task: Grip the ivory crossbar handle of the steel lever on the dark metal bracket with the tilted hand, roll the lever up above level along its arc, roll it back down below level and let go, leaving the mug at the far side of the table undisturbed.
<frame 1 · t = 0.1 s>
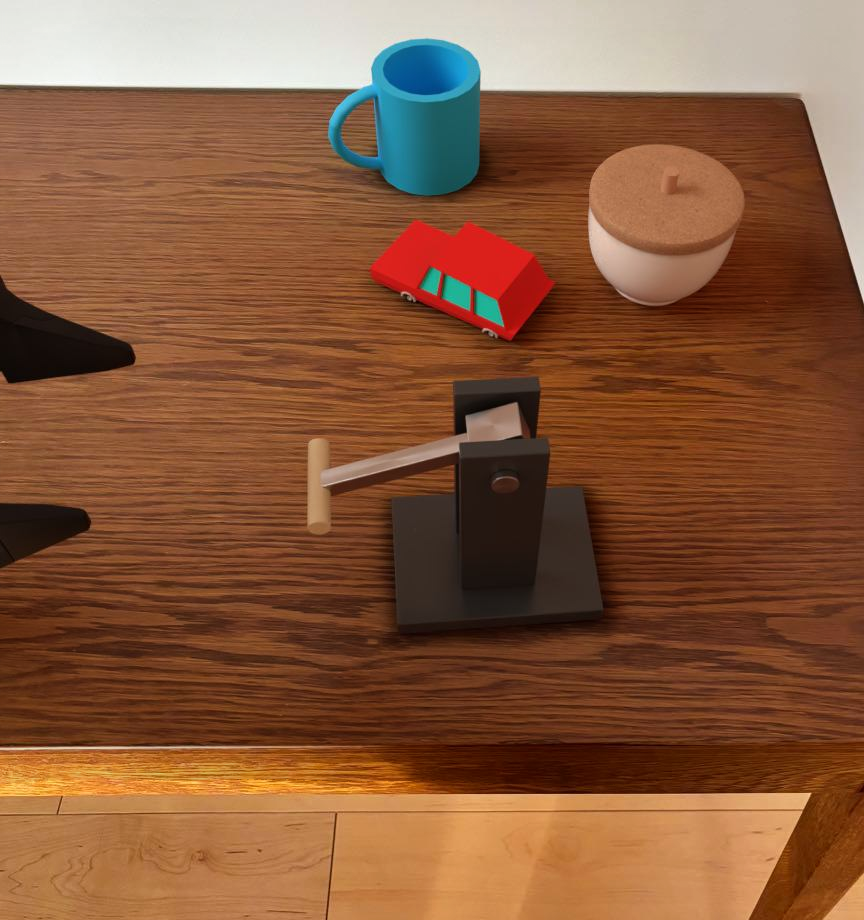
hand: (111, 432, 44), 17 cm above the table, tool horizontal, fingers open, 9 cm apart
lever: (415, 460, 53), point 11 cm above the table, hinge at -18.0°
trinket box: (649, 279, 76), on the table
bracket: (493, 562, 62), on the table
toy car: (463, 292, 75), on the table
mug: (406, 169, 82), on the table
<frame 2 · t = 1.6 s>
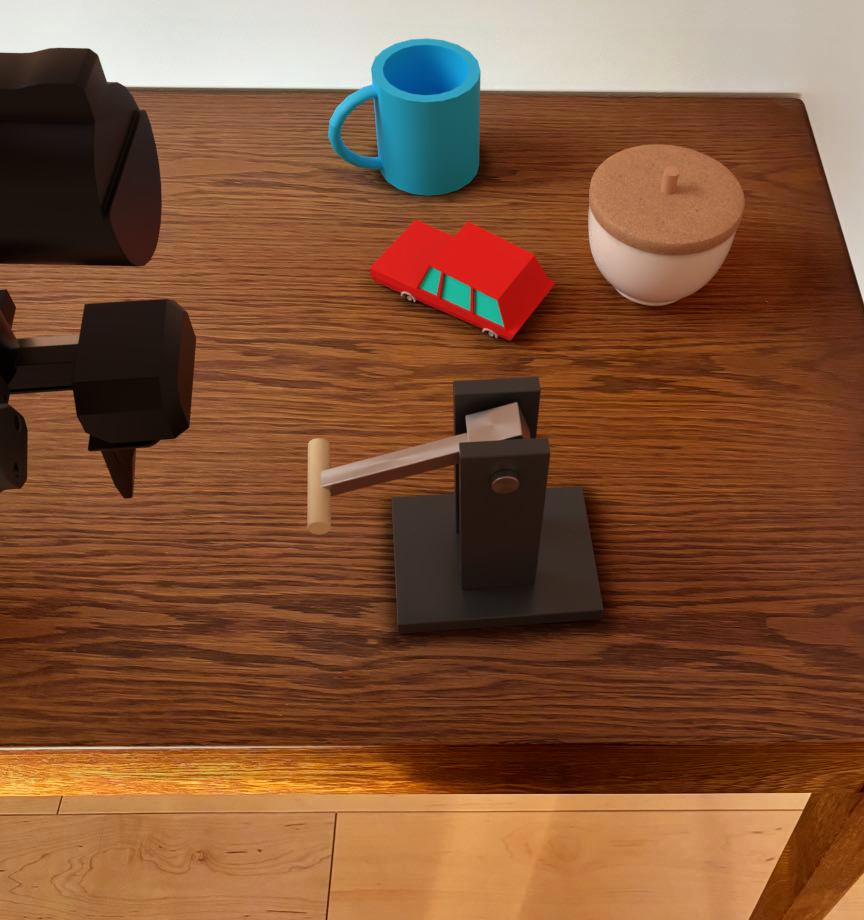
hand: (31, 498, 49), 12 cm above the table, tool pointing down, fingers open, 9 cm apart
nothing on the table moved.
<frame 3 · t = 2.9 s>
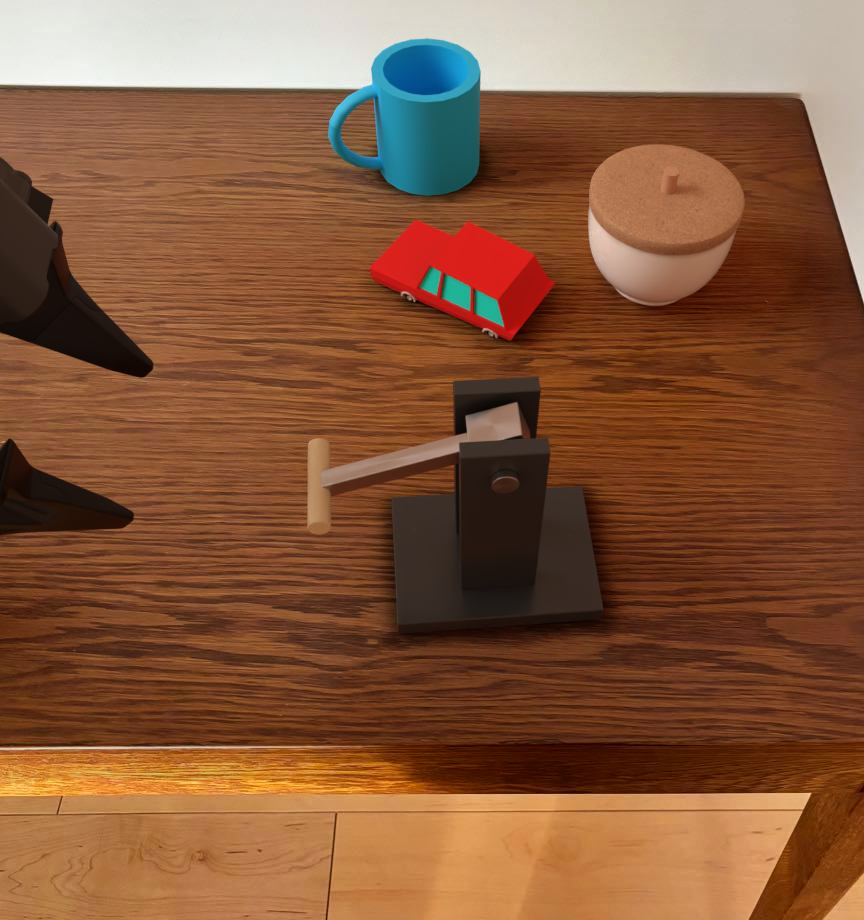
hand: (139, 442, 49), 13 cm above the table, tool tilted 45°, fingers open, 9 cm apart
nothing on the table moved.
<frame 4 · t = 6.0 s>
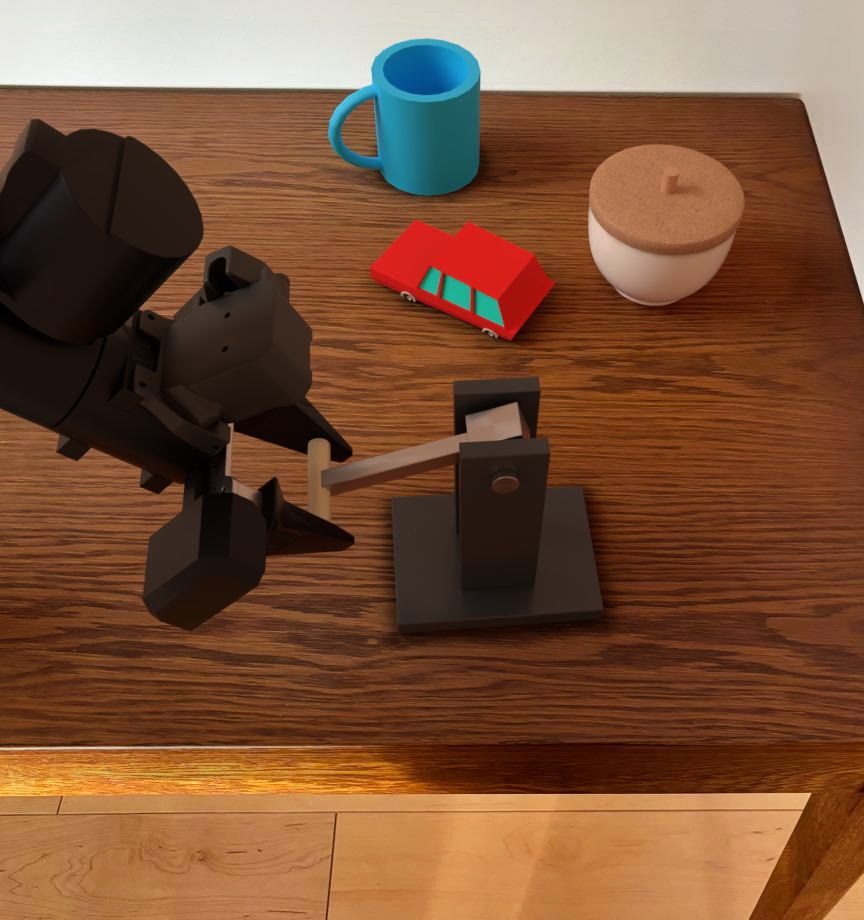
hand: (348, 499, 55), 7 cm above the table, tool tilted 45°, fingers closed on lever, 5 cm apart
lever: (415, 460, 53), point 11 cm above the table, hinge at -18.0°, touching gripper
everything else where it was.
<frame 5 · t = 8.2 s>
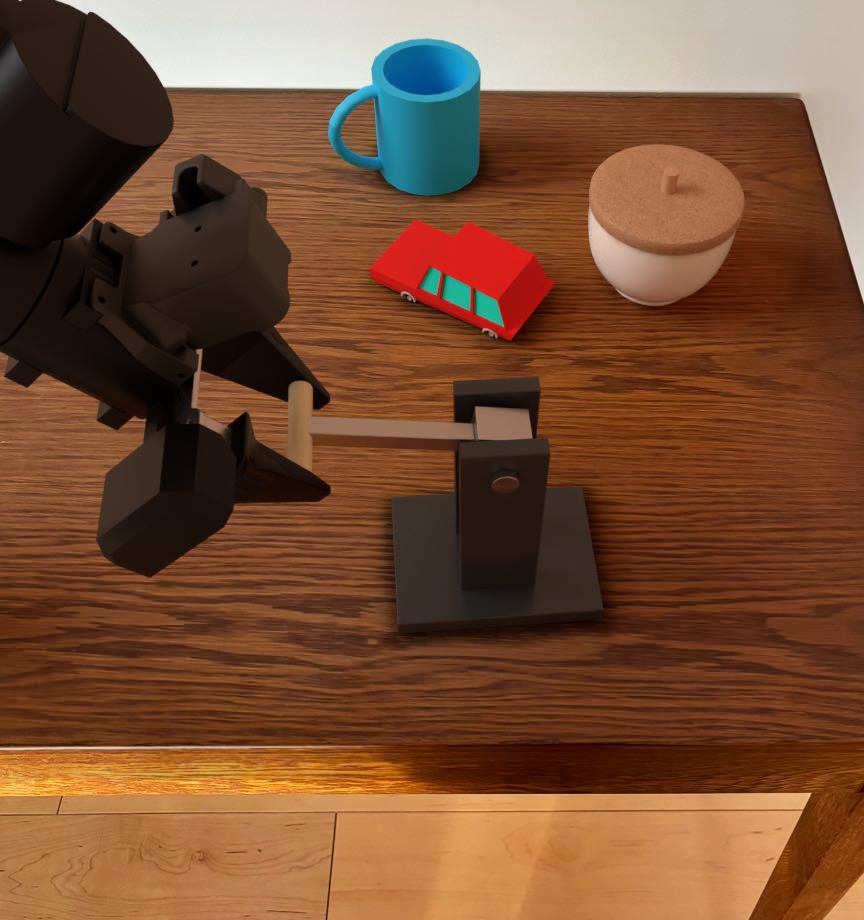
hand: (325, 448, 51), 12 cm above the table, tool tilted 45°, fingers closed on lever, 5 cm apart
lever: (409, 434, 51), point 13 cm above the table, hinge at 8.7°, touching gripper
everything else where it was.
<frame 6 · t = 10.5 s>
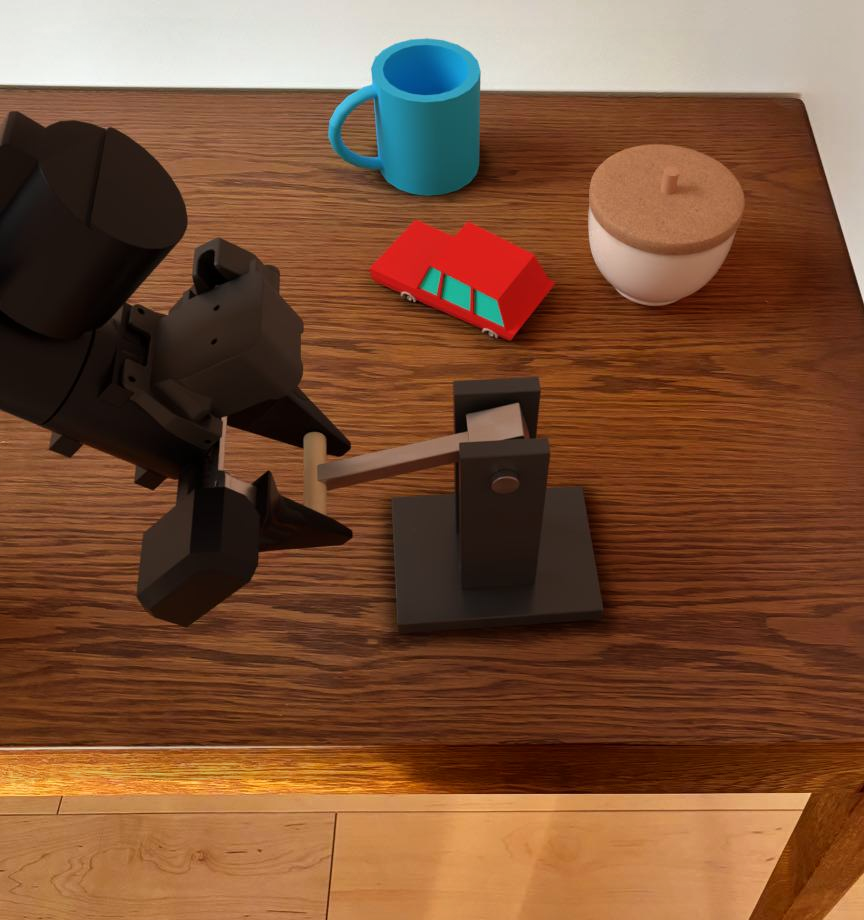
hand: (347, 493, 54), 8 cm above the table, tool tilted 45°, fingers closed on lever, 5 cm apart
lever: (413, 457, 52), point 11 cm above the table, hinge at -14.8°, touching gripper
everything else where it was.
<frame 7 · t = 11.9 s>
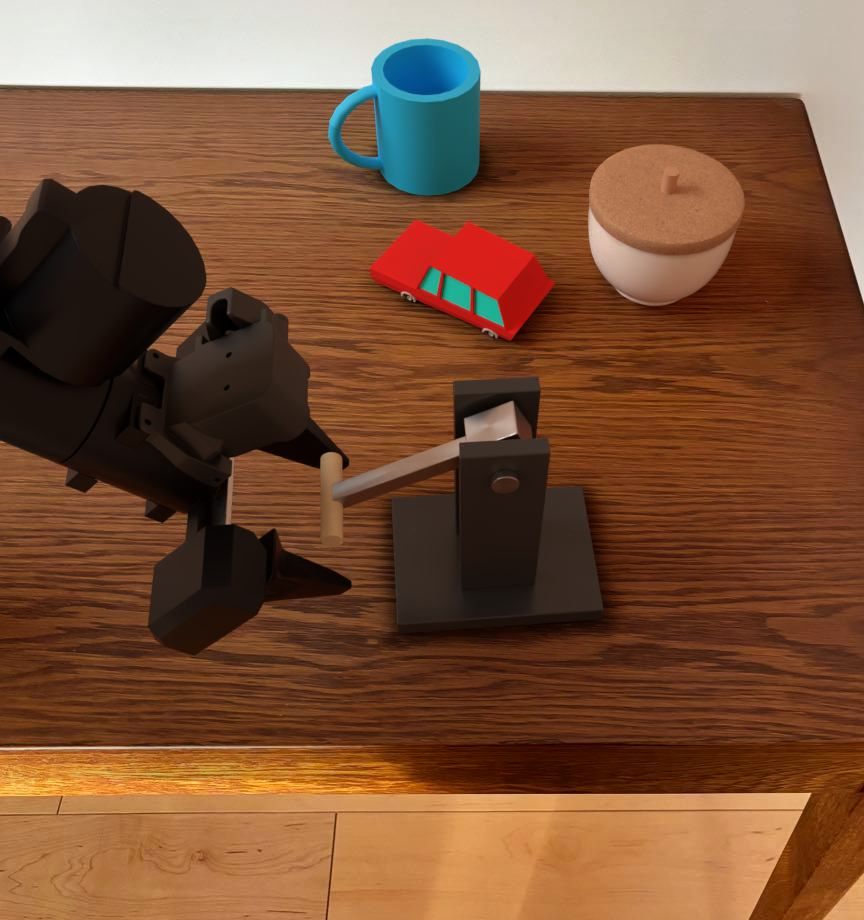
hand: (345, 525, 57), 5 cm above the table, tool tilted 45°, fingers open, 8 cm apart
lever: (420, 467, 53), point 10 cm above the table, hinge at -25.9°
everything else where it was.
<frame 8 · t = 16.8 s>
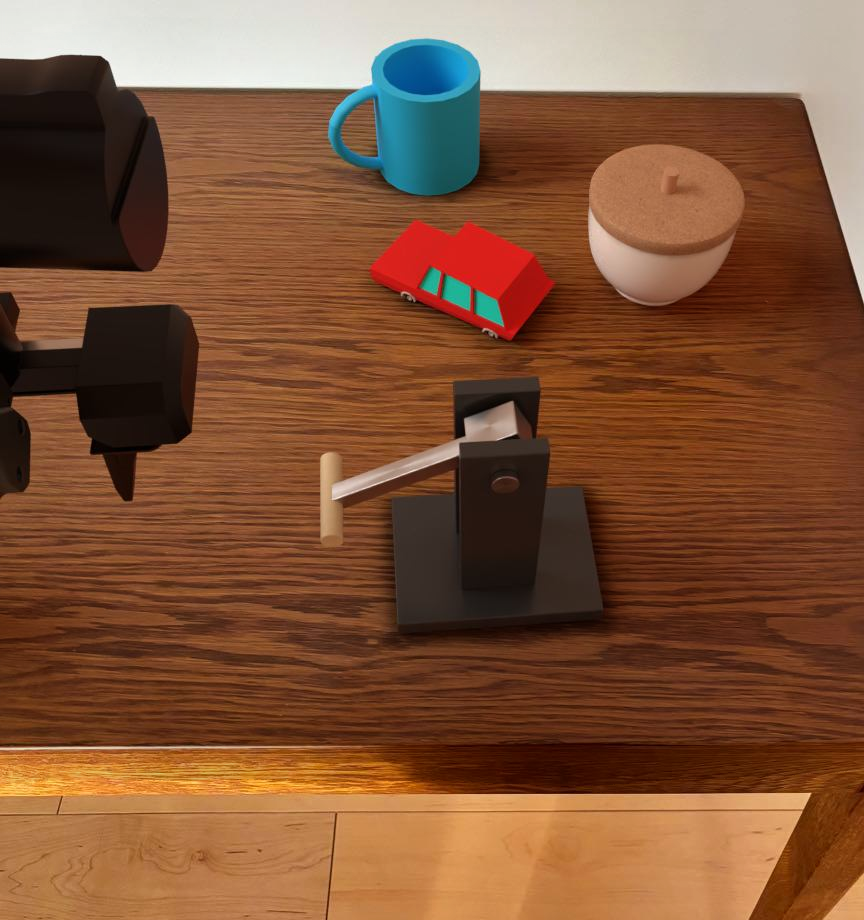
hand: (31, 500, 49), 12 cm above the table, tool pointing down, fingers open, 9 cm apart
nothing on the table moved.
at the end: lever reached +9° during the clip, -26° at the end; lever at -26° (first picture: -18°); mug moved 0.2 cm from its start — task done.
